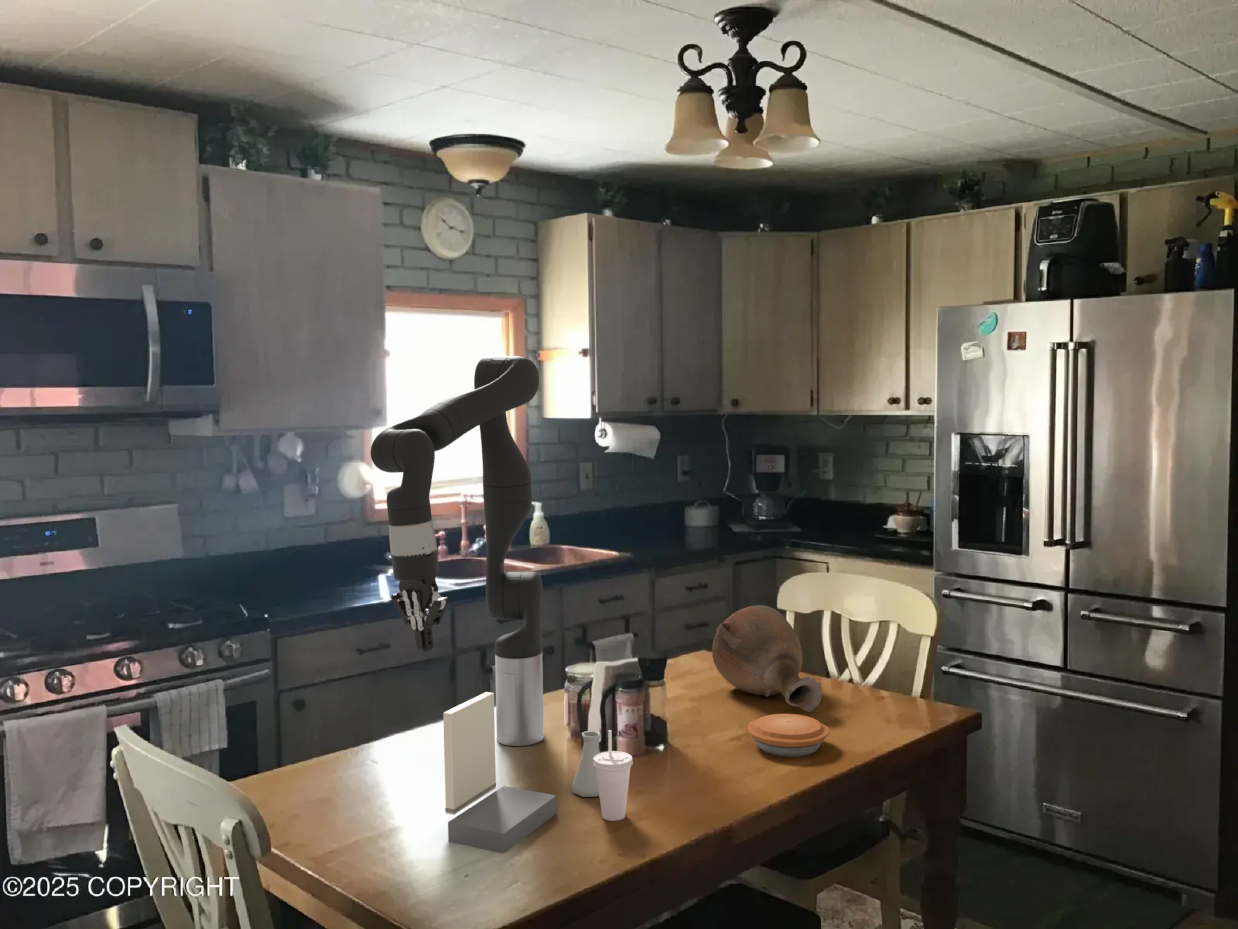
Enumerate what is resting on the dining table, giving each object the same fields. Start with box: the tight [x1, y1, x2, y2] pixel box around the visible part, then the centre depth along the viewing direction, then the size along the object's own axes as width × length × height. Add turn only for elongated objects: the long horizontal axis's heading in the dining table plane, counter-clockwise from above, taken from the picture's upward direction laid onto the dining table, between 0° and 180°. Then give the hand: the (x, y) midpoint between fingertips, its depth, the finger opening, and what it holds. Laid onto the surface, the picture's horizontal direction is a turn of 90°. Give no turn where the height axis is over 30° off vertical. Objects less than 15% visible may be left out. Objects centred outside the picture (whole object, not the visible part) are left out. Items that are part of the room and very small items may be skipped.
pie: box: [747, 713, 831, 758], centre depth 201 cm, size 16×16×5 cm
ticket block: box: [447, 785, 558, 854], centre depth 166 cm, size 16×10×3 cm, turn 154°
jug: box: [711, 604, 823, 713], centre depth 232 cm, size 20×20×30 cm
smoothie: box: [593, 729, 634, 822], centre depth 169 cm, size 6×6×14 cm
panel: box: [442, 691, 497, 816], centre depth 168 cm, size 12×2×16 cm, turn 154°
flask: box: [571, 730, 601, 798], centre depth 180 cm, size 7×7×10 cm
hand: (425, 650), depth 177 cm, fingers closed
